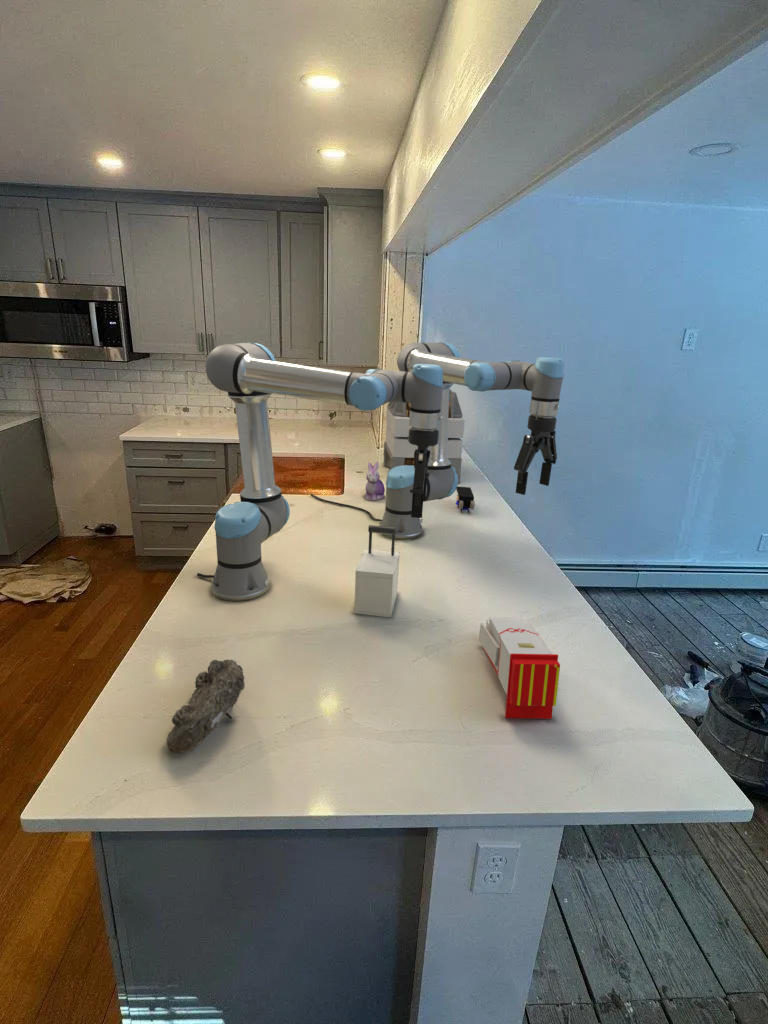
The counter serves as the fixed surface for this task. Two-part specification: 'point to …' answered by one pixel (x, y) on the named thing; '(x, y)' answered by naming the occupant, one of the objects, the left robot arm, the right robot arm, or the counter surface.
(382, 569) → the lid
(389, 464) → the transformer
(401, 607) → the counter surface
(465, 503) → the figurine character
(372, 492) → the figurine
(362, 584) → the chest
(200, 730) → the fossil
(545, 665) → the toy
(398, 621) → the counter surface
